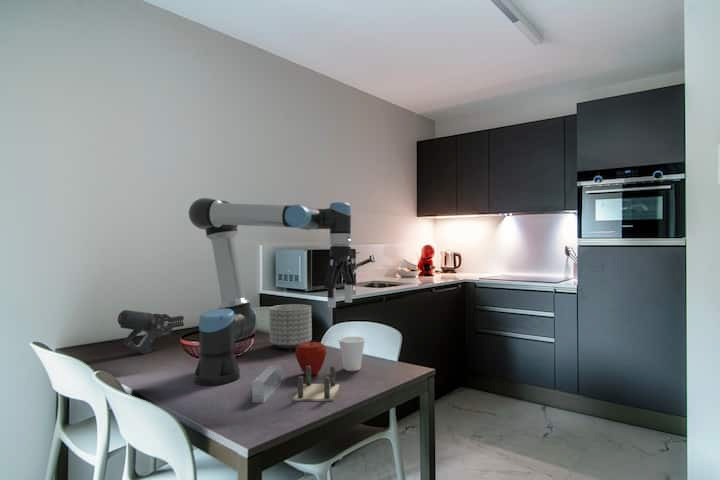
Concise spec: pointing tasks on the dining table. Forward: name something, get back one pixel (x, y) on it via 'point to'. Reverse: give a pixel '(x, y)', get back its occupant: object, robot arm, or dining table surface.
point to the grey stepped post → (266, 383)
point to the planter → (290, 325)
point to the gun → (147, 328)
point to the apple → (311, 356)
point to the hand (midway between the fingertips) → (340, 304)
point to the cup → (352, 352)
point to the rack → (317, 388)
